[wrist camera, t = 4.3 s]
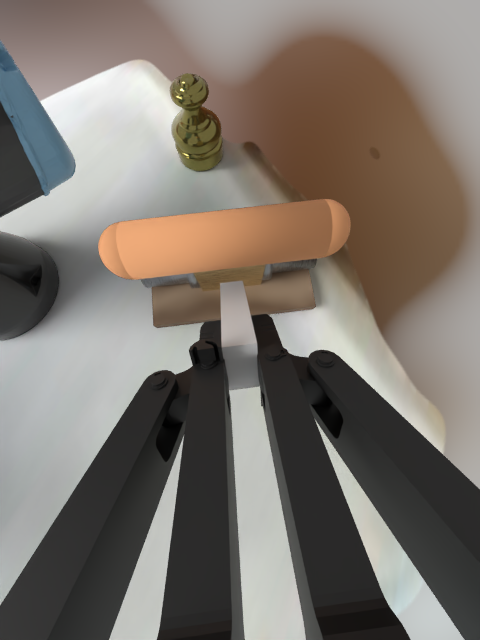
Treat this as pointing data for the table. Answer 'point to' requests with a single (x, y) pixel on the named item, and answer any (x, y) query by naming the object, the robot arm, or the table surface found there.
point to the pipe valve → (204, 287)
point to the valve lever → (224, 239)
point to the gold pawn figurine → (195, 124)
